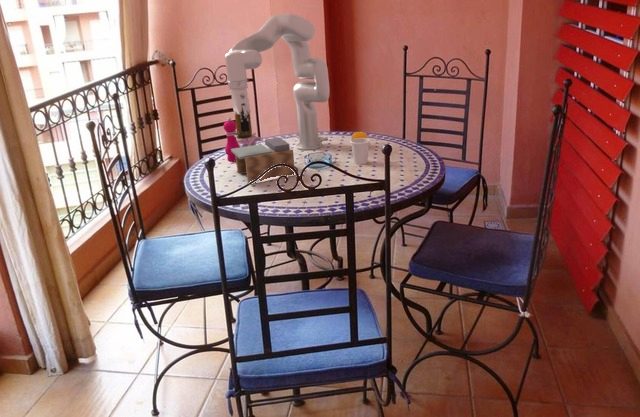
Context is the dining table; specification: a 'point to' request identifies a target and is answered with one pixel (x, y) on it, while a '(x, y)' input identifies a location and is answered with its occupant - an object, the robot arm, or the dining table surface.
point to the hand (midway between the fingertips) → (243, 129)
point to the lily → (250, 141)
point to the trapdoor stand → (266, 165)
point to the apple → (359, 135)
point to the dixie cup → (360, 150)
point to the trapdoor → (262, 148)
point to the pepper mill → (230, 139)
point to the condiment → (238, 126)
